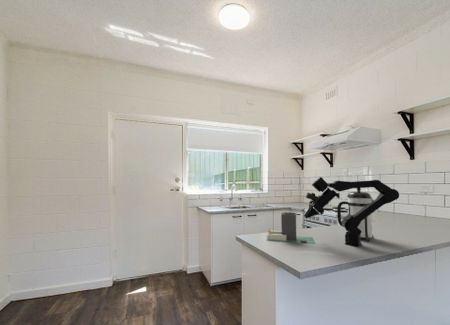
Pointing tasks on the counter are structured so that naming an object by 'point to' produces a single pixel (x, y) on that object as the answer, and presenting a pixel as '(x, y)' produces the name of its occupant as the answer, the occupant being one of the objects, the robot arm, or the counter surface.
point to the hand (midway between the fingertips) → (305, 216)
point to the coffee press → (355, 205)
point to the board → (282, 238)
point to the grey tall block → (288, 225)
